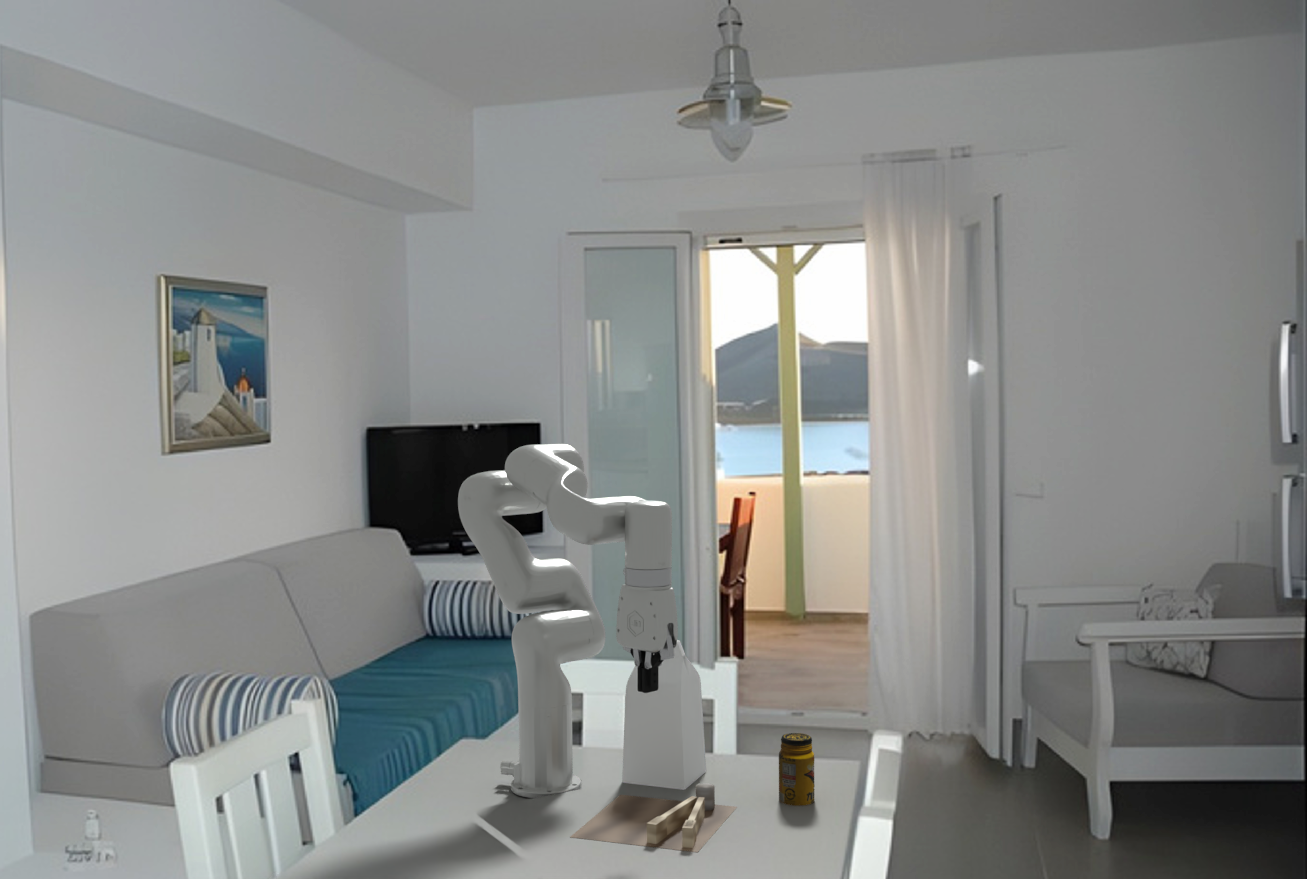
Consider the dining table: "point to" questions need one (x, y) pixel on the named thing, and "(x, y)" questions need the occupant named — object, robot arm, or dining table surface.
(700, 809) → the beige long slender part
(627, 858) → the dining table surface
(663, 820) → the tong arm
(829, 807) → the dining table surface
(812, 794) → the condiment
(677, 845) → the board
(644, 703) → the milk
